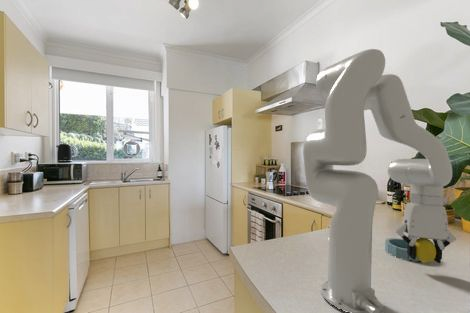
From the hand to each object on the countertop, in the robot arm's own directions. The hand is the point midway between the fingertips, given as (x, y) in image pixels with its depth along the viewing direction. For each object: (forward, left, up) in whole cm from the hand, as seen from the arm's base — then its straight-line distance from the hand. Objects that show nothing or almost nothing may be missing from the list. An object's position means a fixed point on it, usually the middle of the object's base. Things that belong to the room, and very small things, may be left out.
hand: (423, 258), depth 69 cm
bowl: (+11, -7, -4) cm, 14 cm away
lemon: (0, 0, -2) cm, 2 cm away
